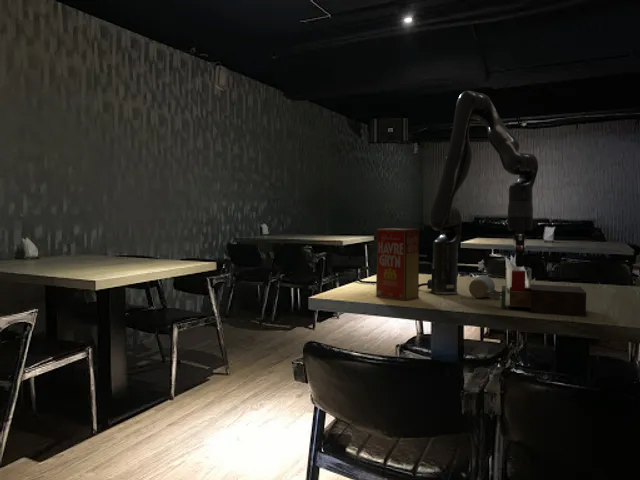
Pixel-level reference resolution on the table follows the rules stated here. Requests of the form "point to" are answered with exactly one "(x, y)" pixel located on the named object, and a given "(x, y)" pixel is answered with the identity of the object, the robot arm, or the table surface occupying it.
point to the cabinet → (558, 300)
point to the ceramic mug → (482, 287)
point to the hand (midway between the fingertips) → (519, 265)
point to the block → (518, 281)
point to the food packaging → (397, 263)
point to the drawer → (513, 297)
